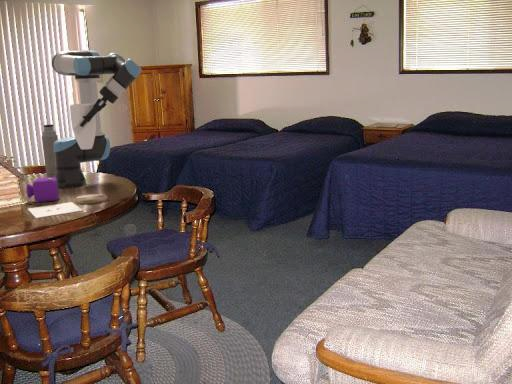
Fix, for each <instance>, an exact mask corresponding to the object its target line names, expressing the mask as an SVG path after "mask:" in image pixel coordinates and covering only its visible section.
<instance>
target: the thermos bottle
mask: <svg viewBox="0 0 512 384" xmlns="http://www.w3.org/2000/svg"><path fill="white" fill-rule="evenodd" d="M57 140H59V137H58V134H57V130H55V129H54V124H43V131H42V135H41V143H42V150H43V151H42V152H43V157H44V158H43V159H44V166H45V167H44V168H45V175H46V177H45V178H50V177H55V175H56V163H55V155H54V142H55V141H57Z"/></svg>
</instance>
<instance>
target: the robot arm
mask: <svg viewBox="0 0 512 384" xmlns="http://www.w3.org/2000/svg"><path fill="white" fill-rule="evenodd" d="M51 68H52V69H53V70H54V72H56V73H57V74H59V75H62V76H69V77H70V76H72V77H73V76H74V79H75V81H76V82H78V88H79V99H80V104H94V106H93V108H92V110H91V111H90V112H89V113H88V114H87V115H86V116H83V119H82V120H81V121H80V123H79V124H78V125H77V126H76V127H75V128H74V129H73V128H72V131H73V130H74V131H75V132H76V133H77V134H79V133H80V132H81V131H82V130H83V128H84V127H85V126H86V125H87V124H88V123H89V122H90V121H91V119H92V118H93V117H94V115H95V118H96V132H95V139H94V144H93V147H92V149H81V148H80V147H79V145H78V143H77V140H76V138H75V136H70V137H69V136H68V137H63V138H60V139H59V138H58V140H57V141H55V142H54V155H55V163H56V175H55V178H57V181H58V189H70V188H71V189H72V188H78V187H82V186H85V185H86V184H87V180H86V177H85V175H84V173H83V169H82V165H81V163H89V162H96V161H97V162H99V161H103V160H106V159H107V158H108V157H109V156H110V152H111V142H110V139H109V138H108V136H105V135H106V134H105V132H103V130H102V124H101V115H100V112H101V111H102V109H104V108H105V107H106V106H107V101H108V102H110V104H115V102H116V101H117V100H118V99H119V97H120V96H122V94H126V90H127V89H128V88H129V86H130V85H131V84H132V83H133V82H135V80H136V79H137V78H138V76H139V75H140V74H141V73H142V68H141V66H139V65H138V64H137V63H136V62H135V61H134V60H133V59H131V58H128V59H125V58H124V56H121V55H120V54H118V53H117V52H111V53H109V54H107V55H104V56H103V55H102V56H101V55H100V53H98V51H96V50H88V49H86V50H64V51H60V52H57V53H56V54H55V55H54V56H53V57H52V59H51ZM101 75H113V76H111V78H109V79H108V81H106V83H105V85H104V86H102V87H101V89H100V90H99V89H98V81H99V80H100V76H101ZM98 90H99V91H98ZM99 94H100V95H101V96H102V98H99Z"/></svg>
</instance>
